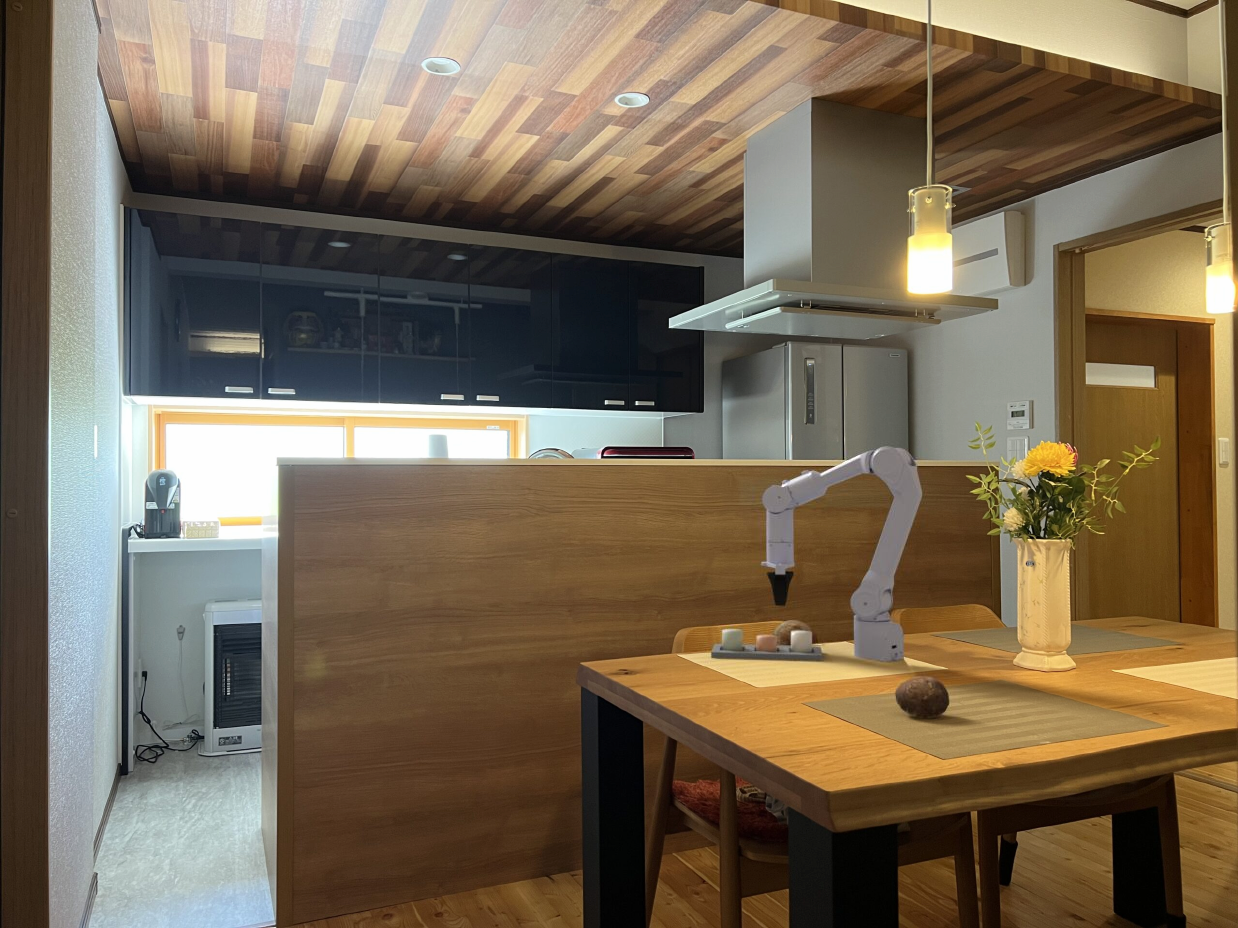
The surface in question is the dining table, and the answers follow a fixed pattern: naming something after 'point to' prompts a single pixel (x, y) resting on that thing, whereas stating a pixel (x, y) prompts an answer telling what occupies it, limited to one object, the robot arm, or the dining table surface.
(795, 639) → the button ivory
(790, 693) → the dining table surface
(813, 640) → the bread roll
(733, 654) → the grey rectangular tray
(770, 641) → the button terracotta
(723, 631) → the button sage
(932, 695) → the brown rough oval lump
